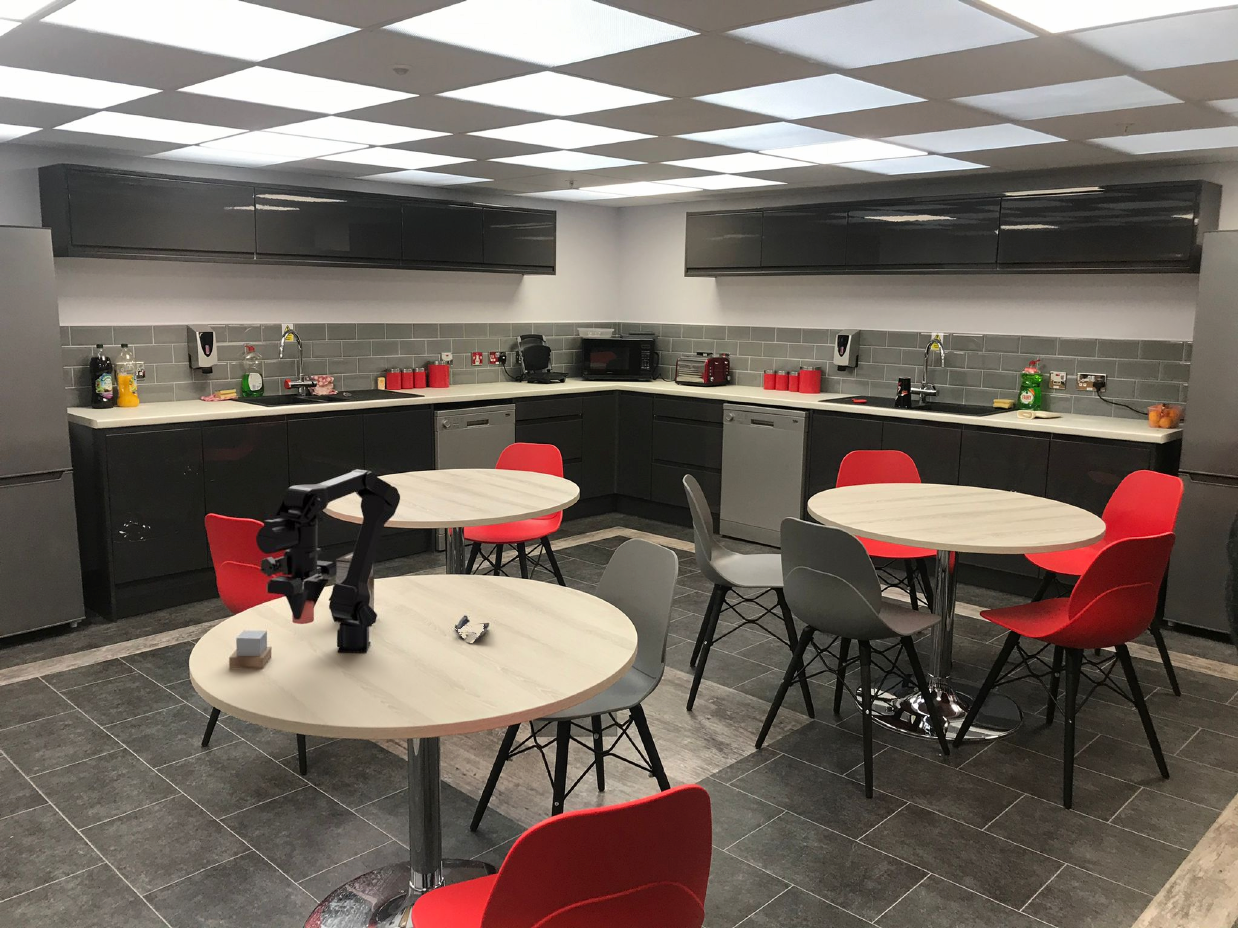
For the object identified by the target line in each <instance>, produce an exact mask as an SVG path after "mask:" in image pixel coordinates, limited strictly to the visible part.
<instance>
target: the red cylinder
mask: <svg viewBox="0 0 1238 928" xmlns="http://www.w3.org/2000/svg"><path fill="white" fill-rule="evenodd" d="M291 617H292V619H291V620H292V623H293V624H298V625H299V624H300V625H304V624H310V623H313V622H315V607H314V602H313V601H311V600H306V601H305V604H304V608H303V611H302V614H301V617H300V619H299V620H298V619H294V616H293V613H292V612H291Z"/></svg>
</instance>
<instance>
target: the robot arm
mask: <svg viewBox="0 0 1238 928" xmlns="http://www.w3.org/2000/svg"><path fill="white" fill-rule="evenodd" d="M352 494H356V495H357V496H358V497H359V498H360V499H361V500H360V501H361V502H360V510H361V514H362V517H363V519H362V522H361V526H360V530H359V533H358V536H357V540H356V542H355V546H354V550H353V551H352V552H353V556H352V559H351V562H350V566H349V569H348V572H347V576H346V578H345V579H344V580H343V581H342V582H341V583H340V584H336V583H334V584H333V586H332V591H331V594H330V597H329V598H328V601H329V603H328V604H329V605H328V609H329V610H330V613H331V617H332V619H333V622H334V623H338V624H339V627H338V628H337V630H336V636H337V637H336V647H337V648H338V649H337V652H338V653H367V652H368V651H369V648H370V646H371V643H372V642H371V641H370V627H372V626H373V625H374V624H376V621H377V617H378V614H377V612H376V611H375V609H374V610H373V609H372V608H371V607H370V606H369V601H370V593H369V589H368V585H367V583H368V579H369V575H370V572H371V569H372V565H373V562H374V563H375V558H376V555H377V551H378V547H379V544H380V541H381V537H382V534H383V532H384V527H385V524H386V523H387V522H388V521H390V519H391V518H393V517H394V515H395V513H397V512H396V511H397V509H398V506H399V504H400V500H401V494H400V492H399V490H398V488H397V487H396V486H392V485H391V484H390V483H389V482H387V481H385V480H384V479H381V478H380V477H378V476H377V475H376V474H375V473H373V472H372V471H370V470H366V469H354V470H351V472H348V473H345V474H343V475H340V476H337V477H334V478H331V479H328V480H326V481H322V482H320V483H315V484H297V485H291V486H290V487H288V488H287V489H286V493H284V496H283V498H282V499H281V501H280V504H279V506H277V508H276V511H275V513H274V515H272V516H273V517H272V518H273V519H267V520H264V521H263V526H262V527H261V528H259V529H258V531H257V533H256V537H255V540H256V546H257V547H258V549H259V550H260V552H262V553H263V554H265V555H271V554H275V553H279V552H283V551H284V552H283V556H280V557H277V558H273V556H270V557H266V558H262V559H261V561H260V569H259V570H260V572H261V573H262V574H263V575H265V576H266V578H270V577H272V576H273V575H274V576H275V575H277V574H280V573H281V574H282V575H278V576H276V577H273V578H271V579H270V580H269V581H267V582H266V593H267V594H274V595H283V596H284V597H285V598H286V600H287V602H288V605H289V607H290V610H291V614H292V613H293V616H294V619H298V620H299V619H300V617H301V614H302V611H303V608H304V604H305V601H306V600H311V601H313V602H314V608H315V607H316V604H317V602H318V600H319V599H320V596H321V594H322V592H323V590H324V588H325V587H326V585H327V583H328V582H329V579H328V578H332V577H334V576H335V577H336V575H337V566H336V563H335V562H334V561H326V560H318V555H320V554H322V548H318V524H320V523H324V522H325V521H326V520H325V518H324V517H323V516H322V515H320V513H321V512H322V511H324V510H325V509H326V508H327V507H328V505H329V504H330V503H331V502H334V501H336V500H338V499H341V498H344V497H346V496H349V495H352ZM322 574H323V575H322ZM324 574H326V575H327V577H328V578H323V577H324Z"/></svg>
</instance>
